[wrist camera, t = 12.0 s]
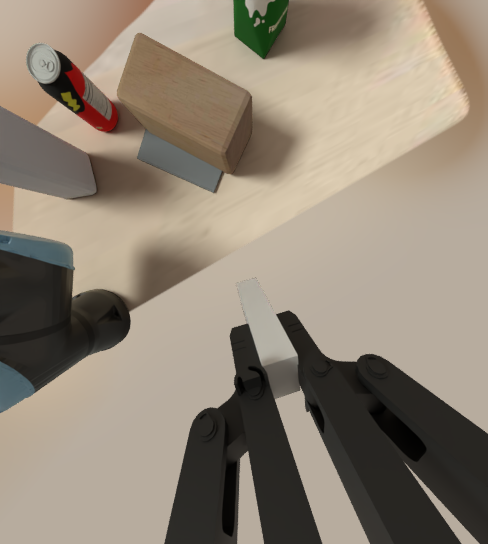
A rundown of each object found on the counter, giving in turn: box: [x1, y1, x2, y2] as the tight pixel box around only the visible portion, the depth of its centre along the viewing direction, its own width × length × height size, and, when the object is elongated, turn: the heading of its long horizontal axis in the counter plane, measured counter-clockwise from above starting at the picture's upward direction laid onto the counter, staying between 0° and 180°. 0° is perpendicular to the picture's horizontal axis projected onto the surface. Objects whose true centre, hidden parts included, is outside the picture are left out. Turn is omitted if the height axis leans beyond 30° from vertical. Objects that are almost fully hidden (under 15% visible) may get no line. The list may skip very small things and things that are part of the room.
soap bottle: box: [0, 106, 97, 199], centre depth 29 cm, size 9×9×25 cm
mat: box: [137, 129, 222, 193], centre depth 38 cm, size 18×18×1 cm
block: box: [117, 33, 252, 174], centre depth 33 cm, size 10×10×20 cm
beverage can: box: [26, 43, 118, 132], centre depth 33 cm, size 6×6×12 cm
